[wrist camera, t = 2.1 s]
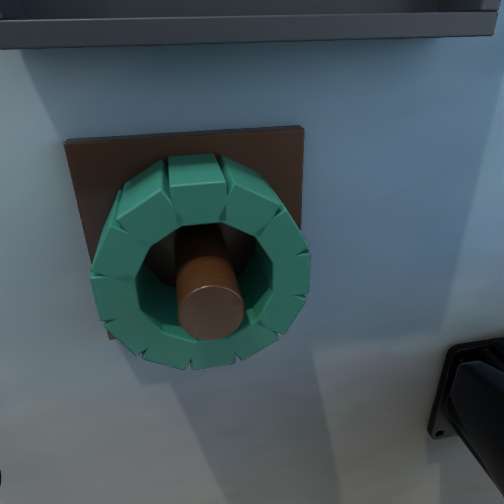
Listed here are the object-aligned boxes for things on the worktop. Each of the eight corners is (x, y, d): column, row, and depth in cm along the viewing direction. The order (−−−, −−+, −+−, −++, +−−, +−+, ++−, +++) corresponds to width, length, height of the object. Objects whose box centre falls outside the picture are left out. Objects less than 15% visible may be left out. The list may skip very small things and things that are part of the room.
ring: (284, 304, 17) (306, 354, 14) (122, 326, 16) (114, 383, 13) (286, 147, 14) (315, 173, 11) (87, 161, 13) (68, 193, 10)
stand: (293, 306, 18) (336, 394, 13) (110, 330, 17) (92, 436, 12) (299, 124, 14) (360, 164, 10) (67, 138, 13) (18, 190, 9)
